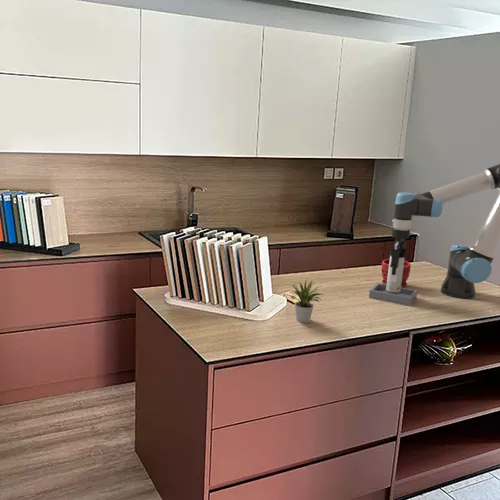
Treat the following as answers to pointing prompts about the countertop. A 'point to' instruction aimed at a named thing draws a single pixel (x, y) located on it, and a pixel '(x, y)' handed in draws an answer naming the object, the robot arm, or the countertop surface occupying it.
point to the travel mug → (396, 286)
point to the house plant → (305, 302)
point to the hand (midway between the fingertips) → (395, 279)
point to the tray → (393, 295)
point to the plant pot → (404, 277)
